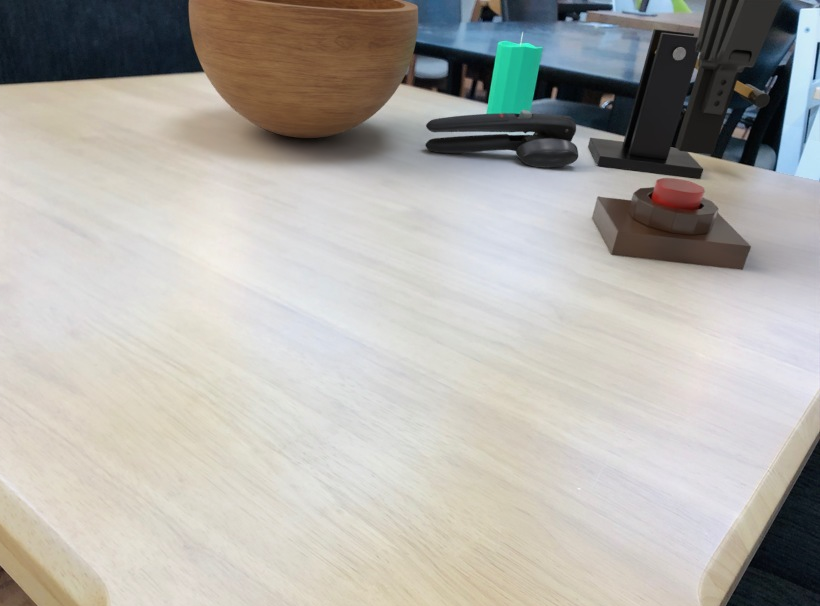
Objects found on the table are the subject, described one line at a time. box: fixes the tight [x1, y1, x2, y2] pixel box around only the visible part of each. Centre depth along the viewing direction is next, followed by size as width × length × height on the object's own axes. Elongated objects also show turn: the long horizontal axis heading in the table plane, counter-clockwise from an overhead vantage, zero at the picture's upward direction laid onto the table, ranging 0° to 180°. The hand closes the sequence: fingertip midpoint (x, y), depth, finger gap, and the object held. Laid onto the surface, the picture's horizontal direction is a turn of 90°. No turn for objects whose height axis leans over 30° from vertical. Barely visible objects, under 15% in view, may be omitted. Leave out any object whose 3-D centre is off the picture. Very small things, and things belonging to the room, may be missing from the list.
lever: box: [655, 51, 771, 109], centre depth 81 cm, size 13×6×2 cm, turn 82°
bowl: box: [188, 0, 419, 139], centre depth 81 cm, size 25×25×15 cm
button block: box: [591, 186, 752, 271], centre depth 62 cm, size 11×9×4 cm
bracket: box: [587, 28, 704, 179], centre depth 84 cm, size 12×9×15 cm
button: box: [651, 177, 706, 210], centre depth 61 cm, size 4×4×2 cm
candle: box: [485, 31, 544, 114], centre depth 95 cm, size 6×6×12 cm
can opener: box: [425, 110, 579, 168], centre depth 82 cm, size 18×7×6 cm, turn 88°
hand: (693, 150), depth 59 cm, fingers closed
